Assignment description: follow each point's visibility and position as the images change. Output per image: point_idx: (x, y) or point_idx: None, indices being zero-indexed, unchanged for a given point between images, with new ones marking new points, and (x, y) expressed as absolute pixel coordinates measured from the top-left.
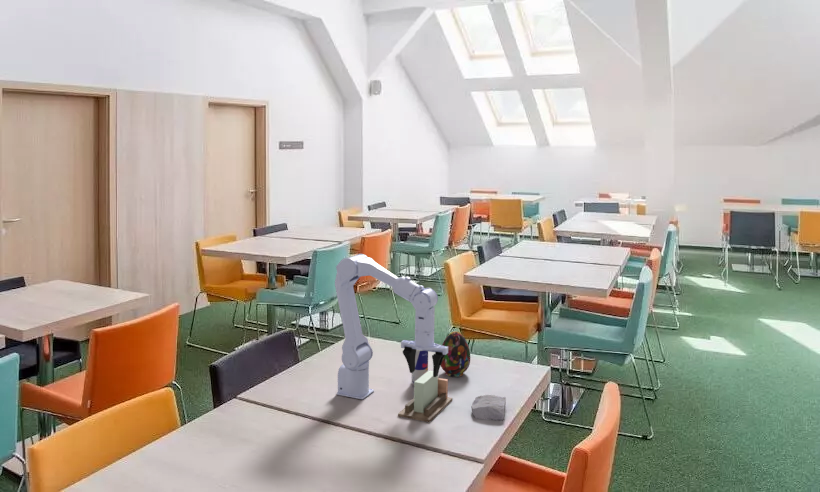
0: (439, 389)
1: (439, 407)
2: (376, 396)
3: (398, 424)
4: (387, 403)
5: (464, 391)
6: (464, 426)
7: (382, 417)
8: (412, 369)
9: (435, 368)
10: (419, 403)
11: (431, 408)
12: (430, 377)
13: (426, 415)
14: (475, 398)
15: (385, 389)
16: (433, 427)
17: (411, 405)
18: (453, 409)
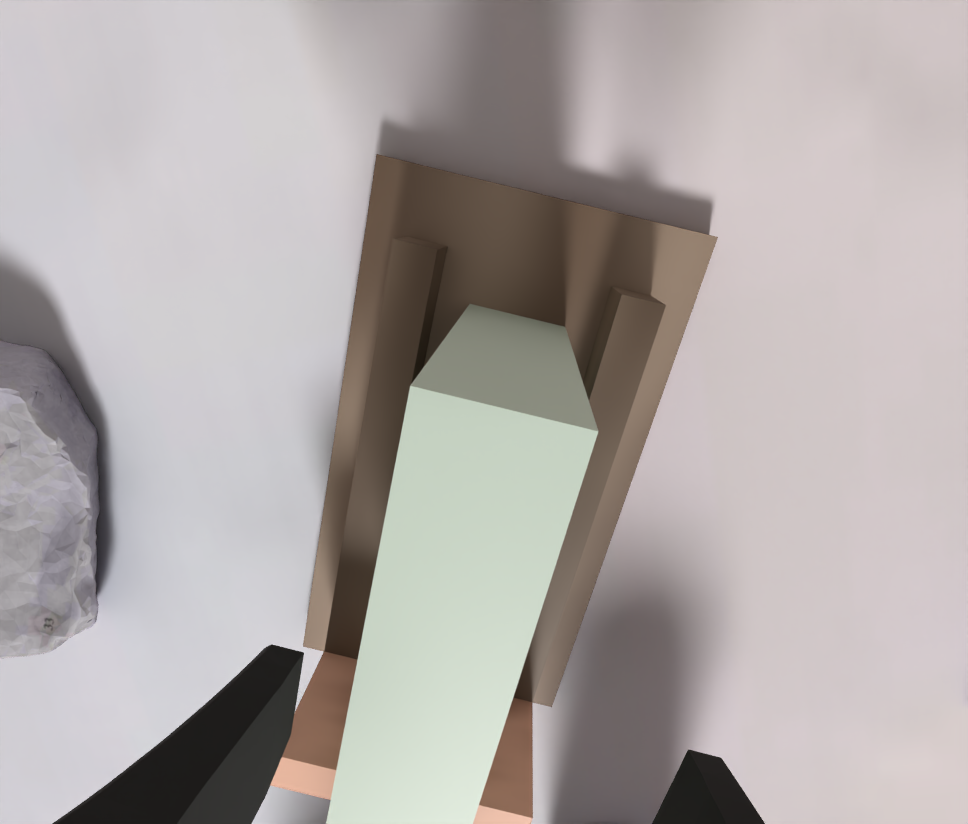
0: None
1: (356, 455)
2: (942, 618)
3: (682, 29)
4: (833, 499)
5: None
6: (68, 150)
7: (868, 172)
8: (694, 820)
9: (157, 767)
10: (506, 331)
11: (383, 322)
12: (367, 660)
13: (425, 240)
14: (76, 601)
15: (865, 748)
16: (324, 48)
17: (598, 359)
18: (258, 478)
